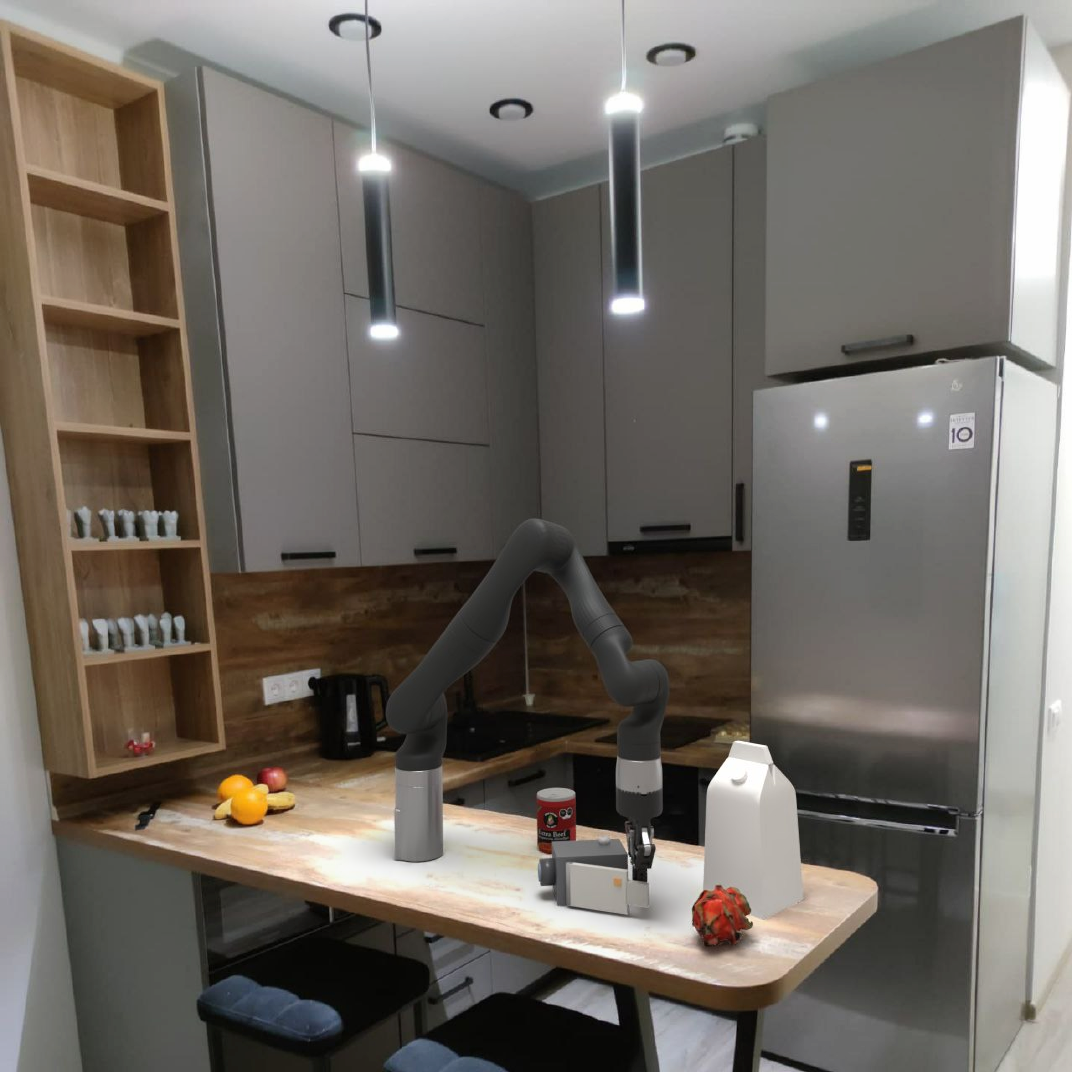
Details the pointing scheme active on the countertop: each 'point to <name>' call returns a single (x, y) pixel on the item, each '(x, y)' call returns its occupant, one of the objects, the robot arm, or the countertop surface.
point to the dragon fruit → (721, 915)
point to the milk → (753, 831)
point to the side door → (603, 888)
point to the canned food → (555, 817)
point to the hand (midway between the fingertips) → (640, 889)
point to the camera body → (579, 861)
